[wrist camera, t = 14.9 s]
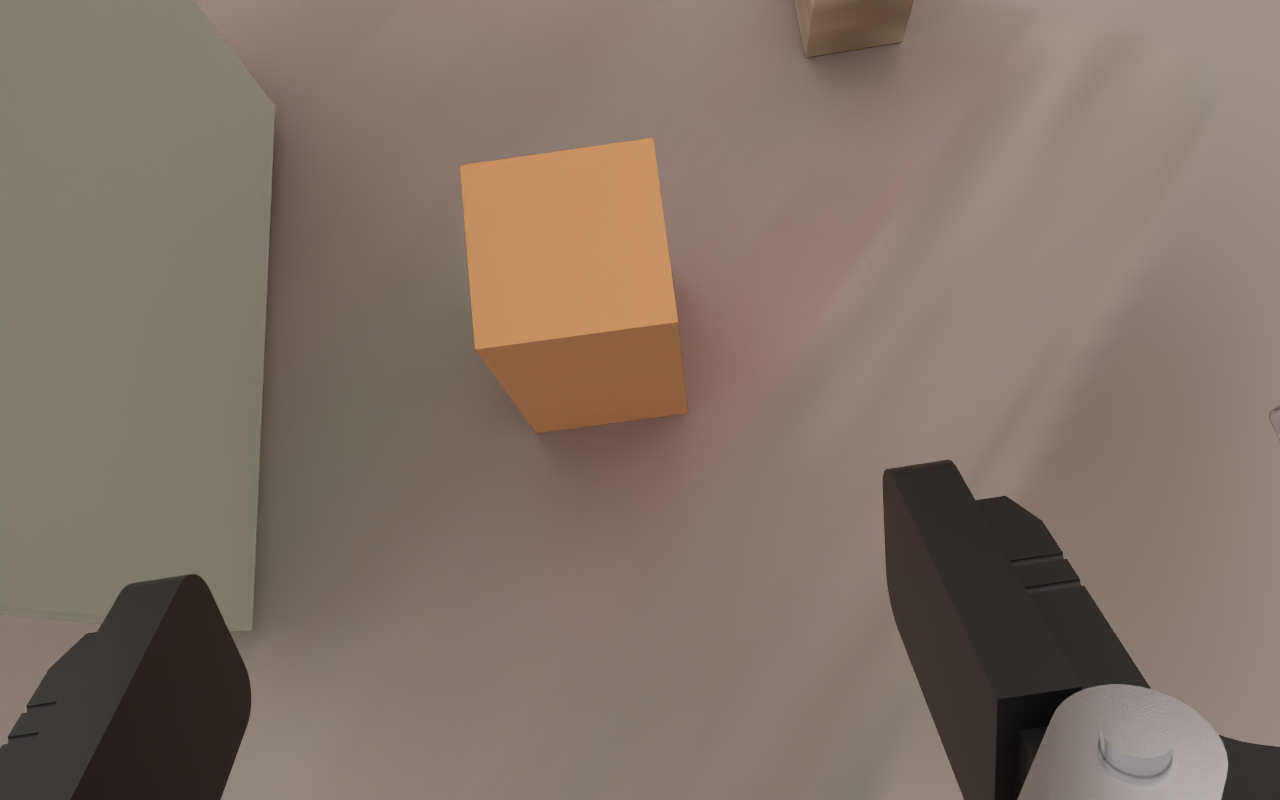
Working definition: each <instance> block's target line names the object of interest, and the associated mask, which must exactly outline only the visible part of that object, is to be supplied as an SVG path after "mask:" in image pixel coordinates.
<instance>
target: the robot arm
mask: <svg viewBox="0 0 1280 800" xmlns="http://www.w3.org/2000/svg"><path fill="white" fill-rule="evenodd" d="M883 504H884V529H885V554H886V575H887V585H888V591H889V597H890V602H891V607H892V611H893V615H894V618H895V622H896V625H897V628H898V630H899V633H900V636H901V638H902V641H903V643H904V646H905V648H906V651H907V654H908V656H909V659H910V661H911V664H912V666H913V669H914V672H915V674H916V677H917V679H918V682H919V684H920V687H921V690H922V692H923V695H924V697H925V700H926V702H927V705H928V708H929V710H930V713H931V715H932V718H933V720H934V723H935V726H936V728H937V731H938V733H939V736H940V738H941V741H942V744H943V746H944V749H945V751H946V754H947V756H948V759H949V761H950V764H951V766H952V769H953V772H954V774H955V777H956V780H957V782H958V785H959V787H960V790H961V792H962V795H963V797H964V800H1280V747H1274V746H1265V745H1258V744H1252V743H1246V742H1241V741H1237V740H1234V739H1230V738H1226V737H1223V736H1221V735H1218V734H1217V732H1216V731H1215V729H1214V728H1213V727H1212V726H1211V725H1210V724H1209V722H1208V721H1207V720H1206V719H1205V718H1204V717H1202V716H1201V715H1200V714H1199V713H1198V712H1196V711H1195V710H1194V709H1192V708H1191V707H1189V706H1188V705H1186V704H1185V703H1183V702H1181V701H1179V700H1177V699H1175V698H1173V697H1171V696H1169V695H1167V694H1164V693H1161V692H1158V691H1156V690H1153V689H1151V688H1150V687H1149V685H1148V684H1147V682H1146V681H1145V679H1144V677H1143V676H1142V674H1141V673H1140V671H1139V670H1138V668H1137V667H1136V665H1135V664H1134V662H1133V661H1132V659H1131V657H1130V656H1129V654H1128V653H1127V651H1126V650H1125V648H1124V647H1123V645H1122V644H1121V642H1120V640H1119V639H1118V637H1117V636H1116V634H1115V633H1114V631H1113V630H1112V628H1111V627H1110V625H1109V623H1108V622H1107V621H1106V619H1105V617H1104V616H1103V614H1102V613H1101V611H1100V610H1099V608H1098V606H1097V605H1096V603H1095V602H1094V600H1093V599H1092V597H1091V596H1090V594H1089V593H1088V591H1087V590H1086V588H1085V586H1081V584H1080V579H1079V577H1078V576H1077V574H1076V573H1075V571H1074V570H1073V568H1072V567H1071V565H1070V563H1069V562H1068V560H1067V559H1064V558H1063V552H1062V551H1061V549H1060V548H1059V546H1058V545H1057V543H1056V542H1055V540H1054V539H1053V537H1052V536H1051V534H1050V532H1049V531H1048V529H1047V528H1046V526H1045V525H1044V523H1043V522H1042V520H1040V519H1039V518H1037V517H1036V516H1034V515H1033V514H1031V513H1030V512H1028V511H1027V510H1025V509H1024V508H1023V507H1021V506H1020V505H1018V504H1017V503H1015V502H1014V501H1012V500H1011V499H1009V498H1008V497H1006V496H1001V497H995V498H988V499H982V500H975V499H974V497H973V495H972V494H971V492H970V490H969V488H968V487H967V485H966V483H965V481H964V480H963V478H962V476H961V474H960V473H959V471H958V469H957V467H956V466H955V464H954V463H953V462H952V461H951V460H944V461H937V462H931V463H924V464H918V465H911V466H905V467H898V468H892V469H886V470H885V471H884V475H883ZM250 710H251V688H250V681H249V676H248V673H247V670H246V667H245V665H244V662H243V660H242V658H241V656H240V654H239V652H238V649H237V647H236V645H235V643H234V641H233V639H232V636H231V634H230V632H229V630H228V628H227V626H226V623H225V621H224V619H223V617H222V615H221V613H220V610H219V608H218V606H217V604H216V602H215V600H214V597H213V595H212V593H211V591H210V589H209V587H208V585H207V583H206V582H205V581H204V580H203V579H202V578H201V577H200V576H198V575H196V574H189V575H182V576H176V577H169V578H163V579H156V580H150V581H143V582H137V583H131V584H129V585H127V586H125V587H124V588H123V589H122V591H121V592H120V594H119V595H118V597H117V599H116V600H115V602H114V604H113V606H112V607H111V609H110V611H109V613H108V614H107V616H106V618H105V619H104V621H103V623H102V625H101V626H100V628H99V630H98V632H95V633H88V634H86V635H85V636H84V637H82V638H81V639H80V640H79V641H78V642H77V643H76V644H75V645H74V646H73V647H72V648H71V649H70V650H69V651H68V652H67V653H65V654H64V655H63V656H62V657H61V658H60V659H59V660H58V661H57V662H56V663H55V664H54V665H53V666H52V667H51V668H50V669H49V670H48V672H47V673H46V675H45V676H44V678H43V680H42V681H41V683H40V685H39V686H38V688H37V690H36V691H35V693H34V695H33V696H32V698H31V699H30V701H29V703H28V704H27V713H22V714H21V716H20V717H19V719H18V721H17V722H16V724H15V726H14V727H13V729H12V731H11V732H10V734H9V736H8V739H9V741H8V744H5V745H2V747H1V749H0V800H220V799H221V797H222V794H223V791H224V788H225V786H226V783H227V780H228V777H229V774H230V772H231V769H232V766H233V763H234V760H235V758H236V755H237V752H238V749H239V746H240V744H241V741H242V738H243V735H244V732H245V730H246V727H247V724H248V720H249V716H250Z"/></svg>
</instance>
